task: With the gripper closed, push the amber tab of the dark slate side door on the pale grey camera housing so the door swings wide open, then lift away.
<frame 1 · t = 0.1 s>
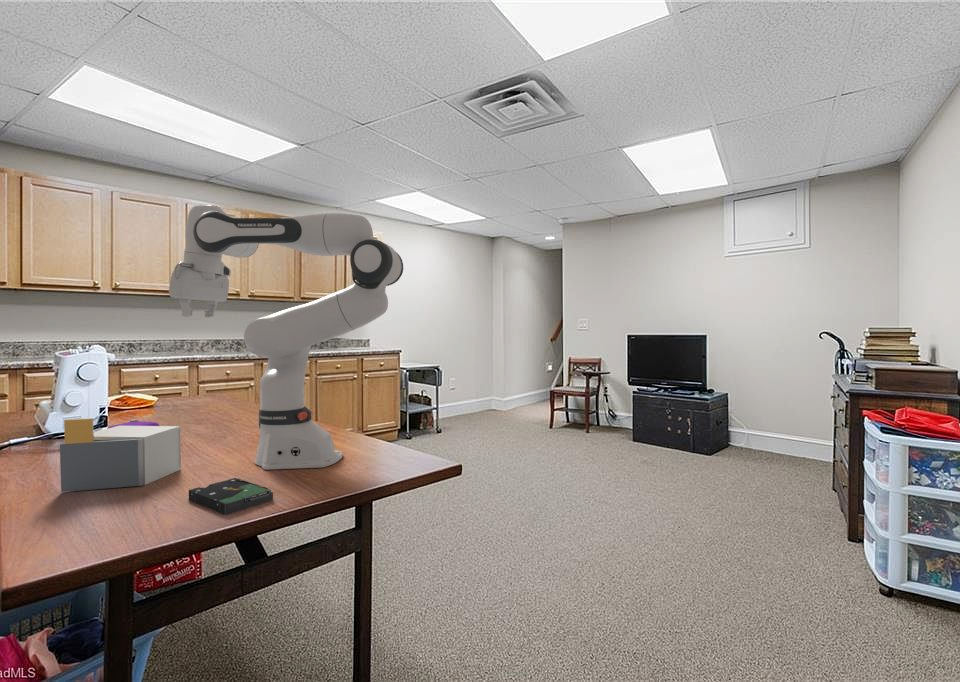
hand: (198, 316, 132), 39 cm above the table, tool pointing down, fingers open, 8 cm apart
side door: (102, 453, 108), point 8 cm above the table, hinge at 20.0°
toy camera: (139, 458, 134), on the table
camera housing: (132, 476, 118), on the table
disk drive: (231, 503, 102), on the table
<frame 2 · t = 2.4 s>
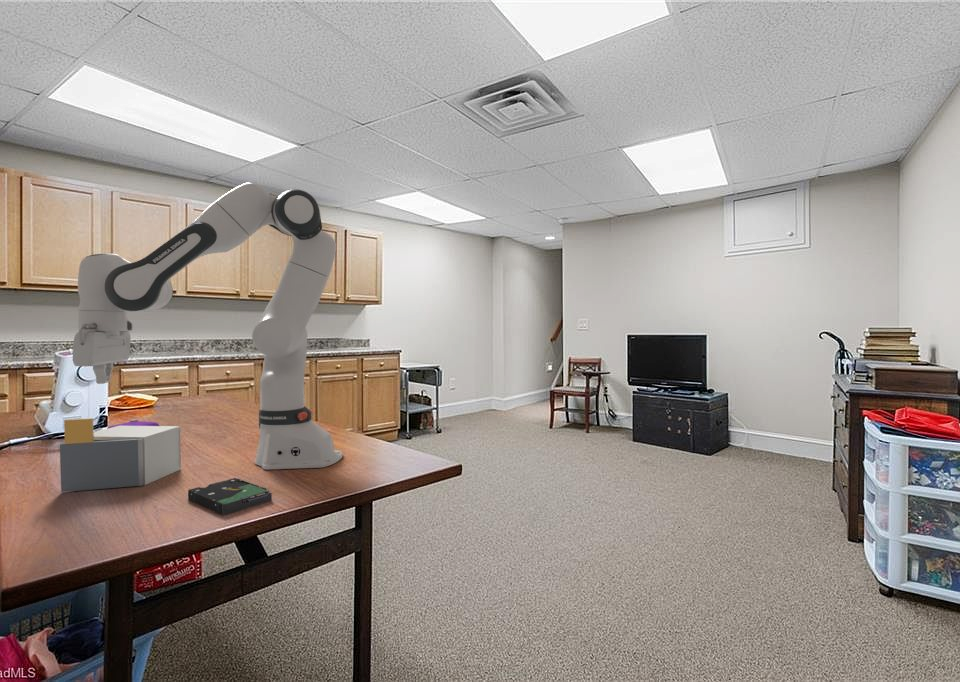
hand: (103, 383, 114), 23 cm above the table, tool pointing down, fingers closed
nothing on the table moved.
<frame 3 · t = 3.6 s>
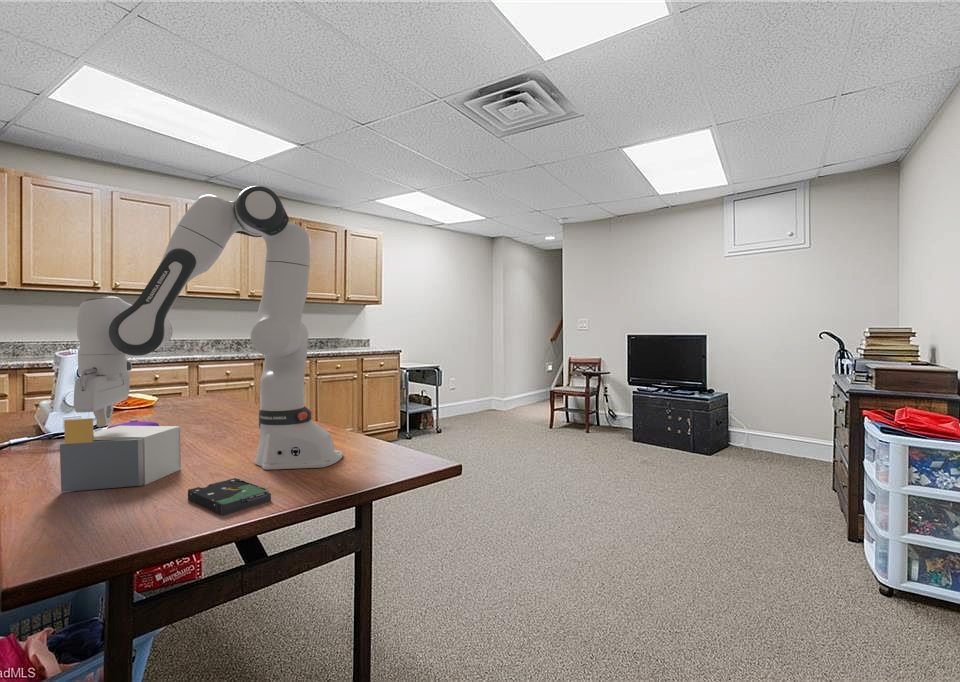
hand: (103, 425, 113), 13 cm above the table, tool pointing down, fingers closed
nothing on the table moved.
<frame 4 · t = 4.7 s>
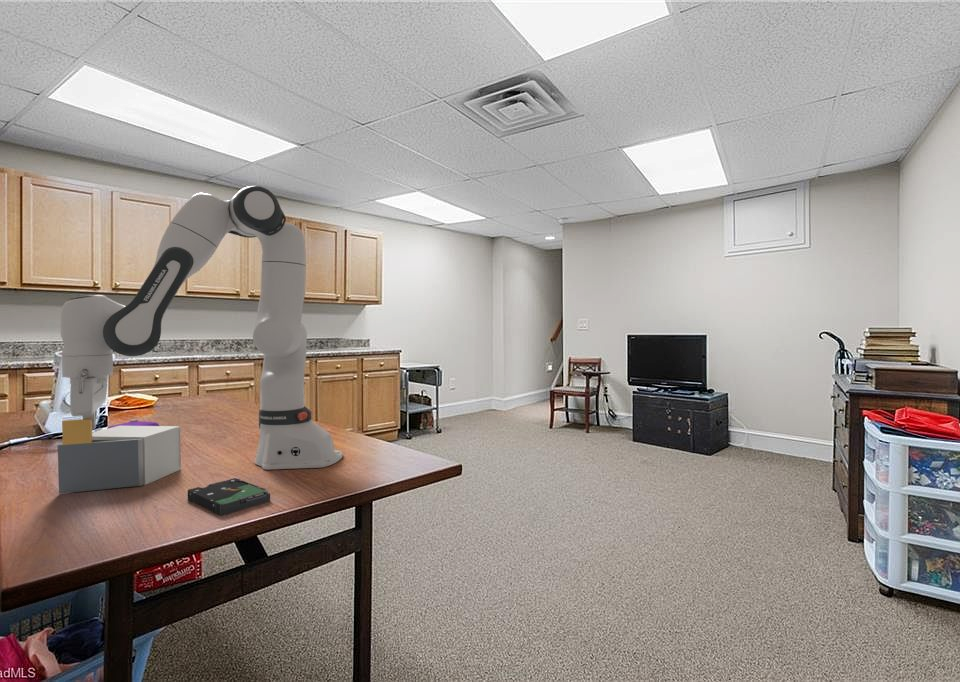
hand: (90, 429, 108), 13 cm above the table, tool pointing down, fingers closed
side door: (101, 453, 108), point 8 cm above the table, hinge at 24.0°, touching gripper
everything else where it was.
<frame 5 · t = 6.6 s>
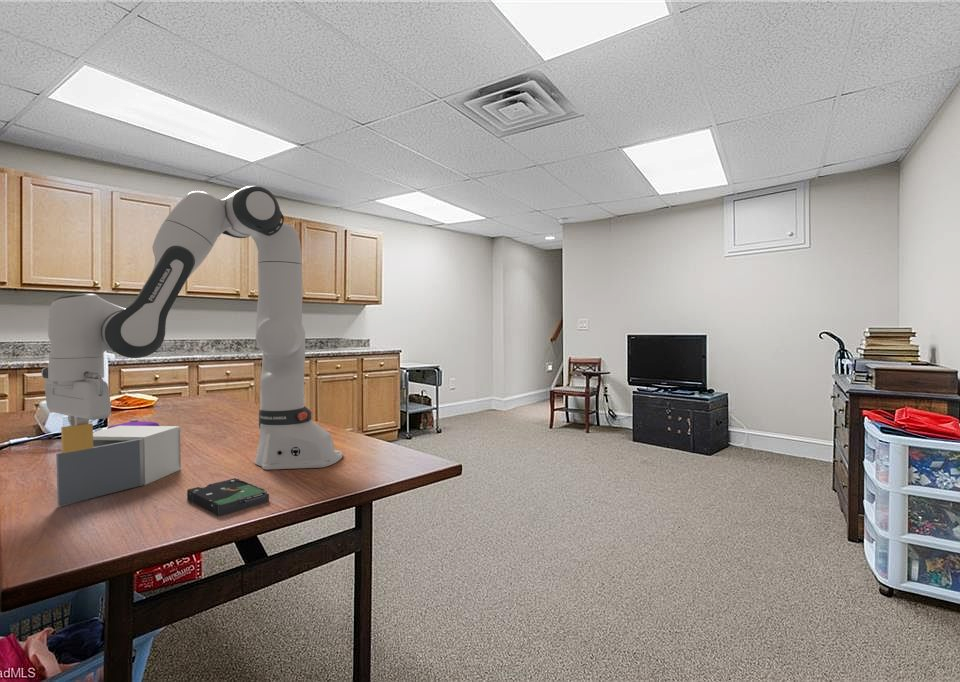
hand: (79, 436, 102), 13 cm above the table, tool pointing down, fingers closed
side door: (102, 458, 104), point 8 cm above the table, hinge at 62.6°, touching gripper
everything else where it was.
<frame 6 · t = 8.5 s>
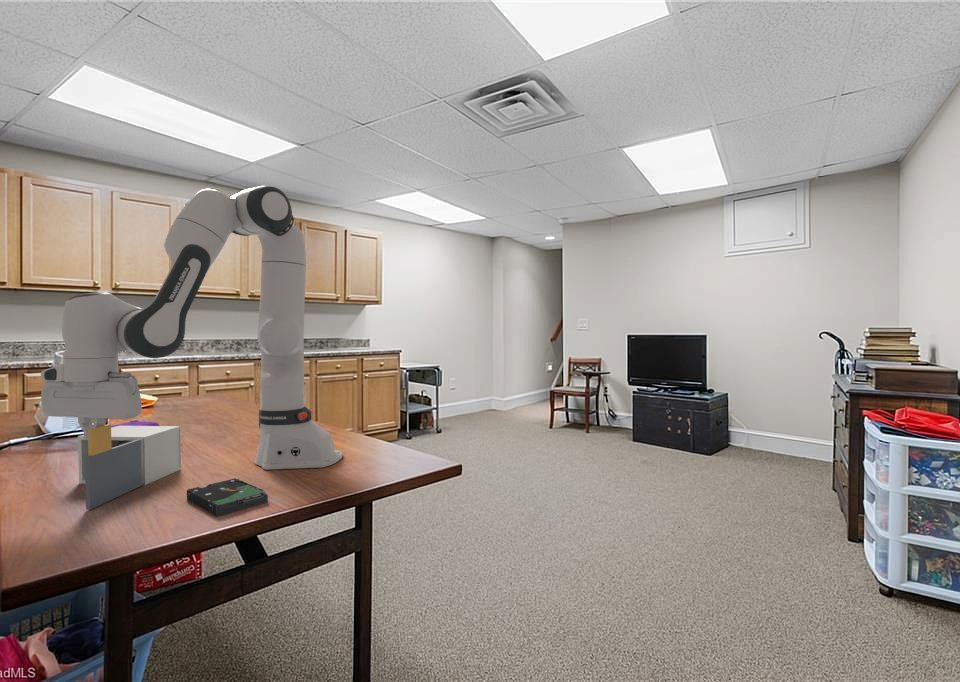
hand: (92, 439, 99), 13 cm above the table, tool pointing down, fingers closed
side door: (116, 459, 103), point 8 cm above the table, hinge at 93.4°, touching gripper
everything else where it was.
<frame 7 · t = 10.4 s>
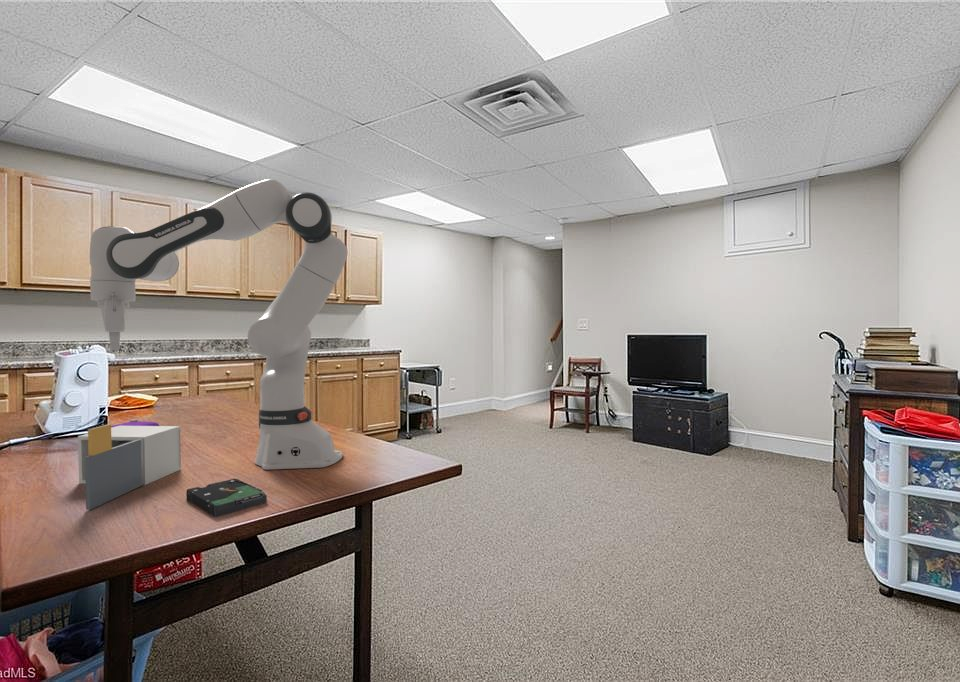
hand: (114, 350, 119), 30 cm above the table, tool pointing down, fingers closed
side door: (116, 459, 103), point 8 cm above the table, hinge at 93.5°
everything else where it was.
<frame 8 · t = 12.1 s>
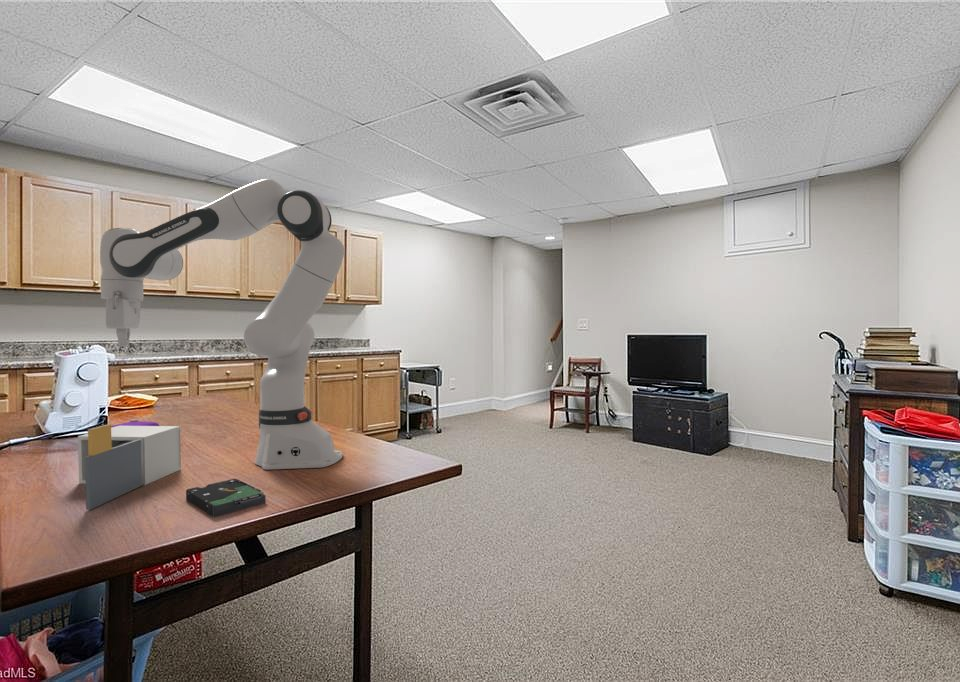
hand: (123, 346, 125), 31 cm above the table, tool pointing down, fingers closed
at the end: side door at +94° (first picture: +20°) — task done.
